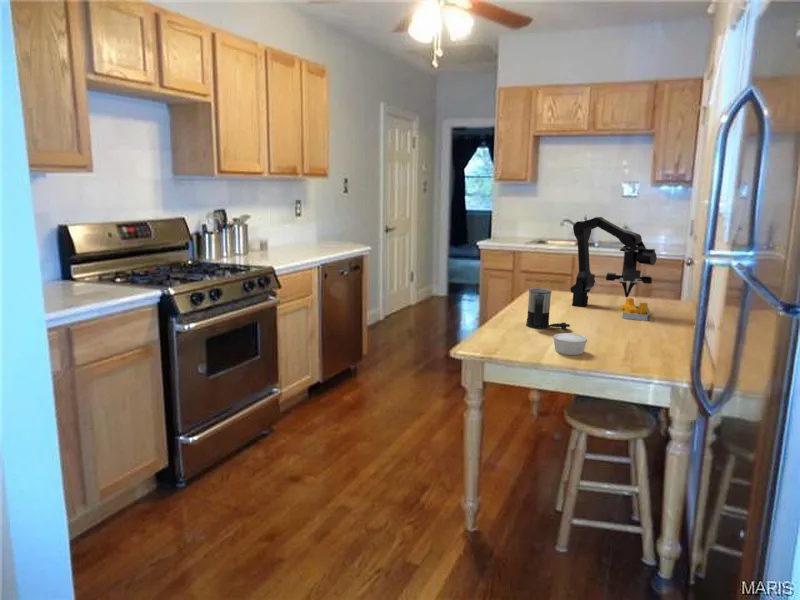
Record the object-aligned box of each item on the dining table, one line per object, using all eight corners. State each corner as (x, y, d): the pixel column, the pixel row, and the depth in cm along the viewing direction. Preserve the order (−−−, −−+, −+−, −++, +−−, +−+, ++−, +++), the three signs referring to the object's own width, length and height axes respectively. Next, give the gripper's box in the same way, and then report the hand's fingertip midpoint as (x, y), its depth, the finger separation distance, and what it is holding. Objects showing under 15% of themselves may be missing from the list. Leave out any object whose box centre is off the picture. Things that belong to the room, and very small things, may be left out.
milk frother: (523, 323, 245) (525, 287, 242) (560, 323, 246) (563, 288, 243) (533, 332, 231) (535, 294, 228) (572, 332, 232) (575, 295, 229)
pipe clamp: (621, 311, 270) (622, 298, 269) (629, 311, 271) (631, 297, 270) (637, 318, 259) (639, 303, 257) (646, 317, 260) (647, 303, 258)
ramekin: (548, 347, 211) (549, 332, 210) (578, 347, 212) (579, 332, 211) (558, 356, 200) (559, 341, 199) (590, 356, 201) (592, 341, 200)
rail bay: (622, 318, 257) (622, 312, 256) (621, 310, 273) (622, 304, 273) (649, 321, 253) (650, 315, 252) (647, 312, 270) (648, 307, 269)
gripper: (607, 263, 255) (604, 298, 258) (654, 266, 249) (650, 302, 252) (607, 259, 265) (604, 294, 269) (652, 262, 259) (648, 297, 263)
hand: (626, 297), depth 263 cm, fingers closed
